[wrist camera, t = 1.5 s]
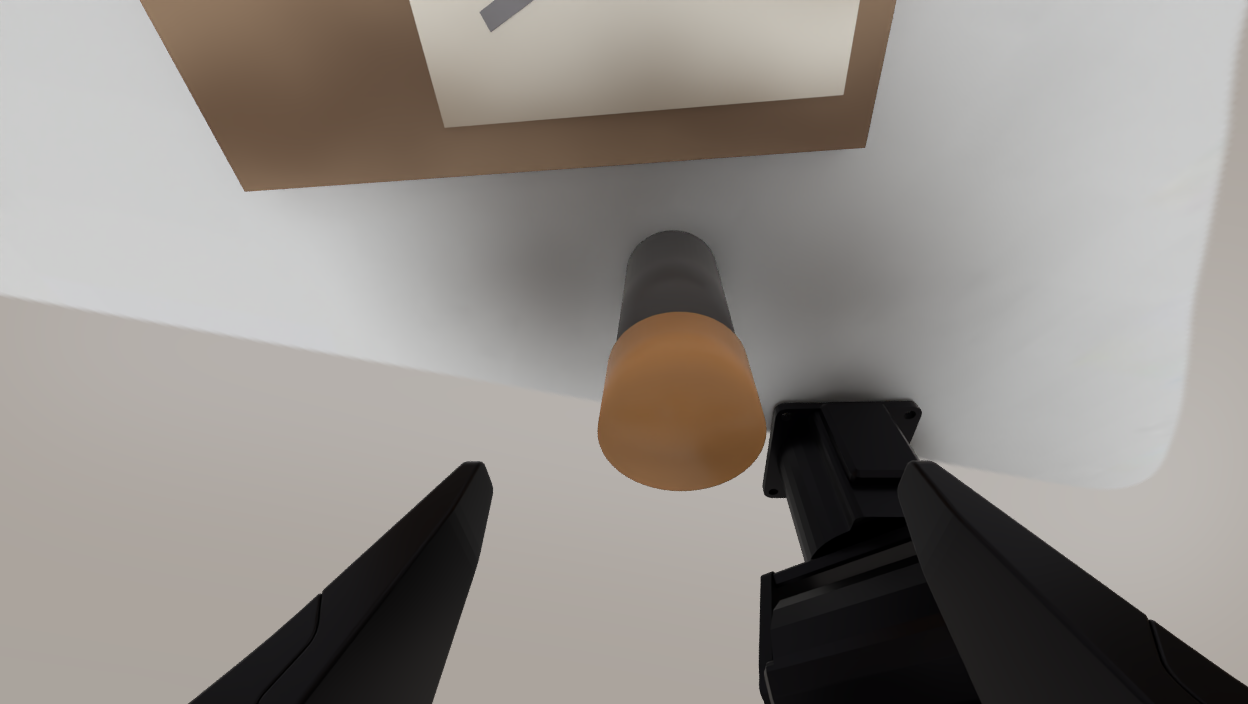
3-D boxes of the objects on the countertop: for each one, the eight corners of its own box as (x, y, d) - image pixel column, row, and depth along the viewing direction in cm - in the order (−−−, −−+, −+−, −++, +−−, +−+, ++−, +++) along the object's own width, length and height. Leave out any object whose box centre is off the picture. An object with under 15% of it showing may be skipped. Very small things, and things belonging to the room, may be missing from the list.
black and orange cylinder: (718, 315, 19) (758, 491, 11) (626, 318, 19) (606, 490, 12) (722, 223, 16) (775, 368, 9) (618, 229, 17) (587, 372, 9)
